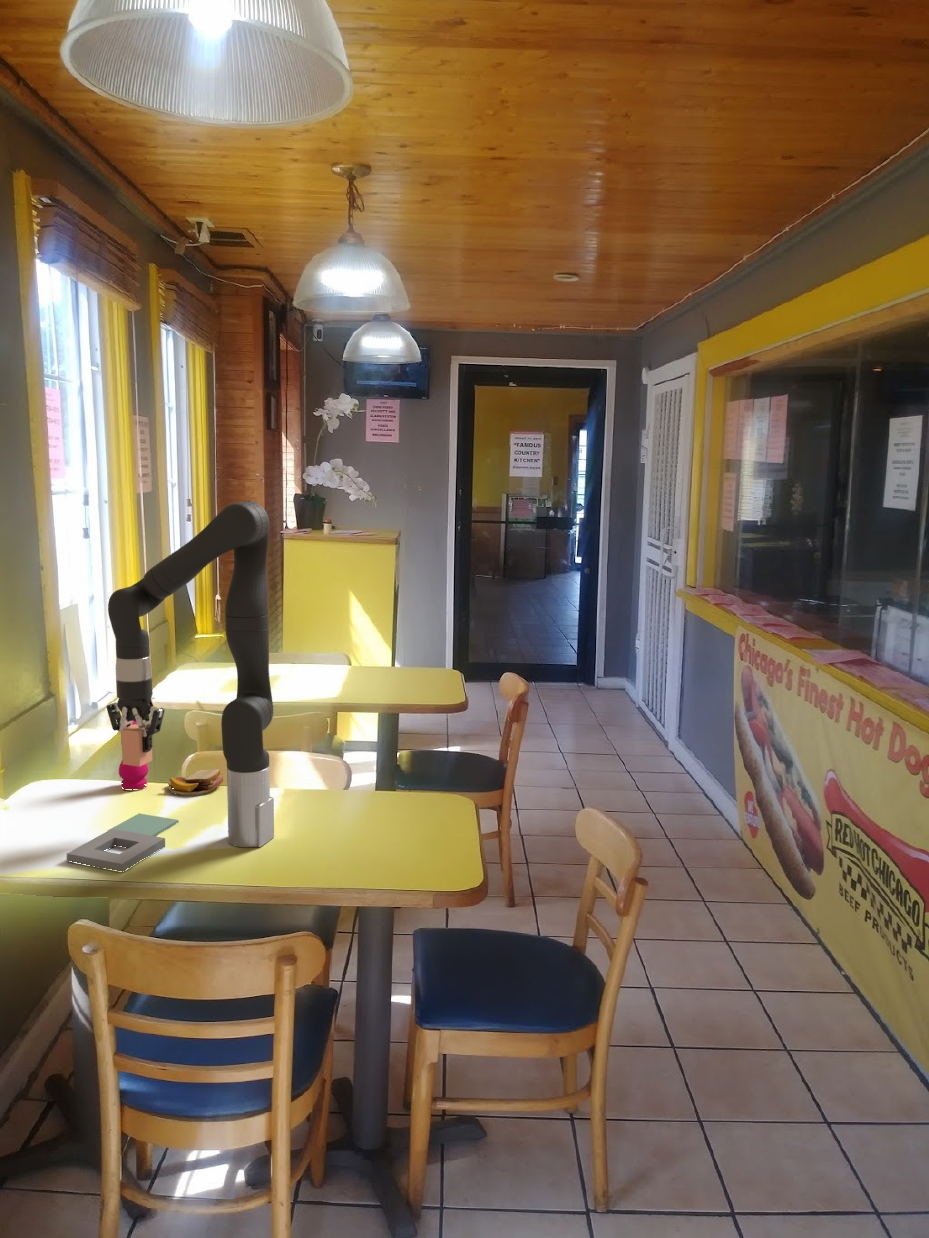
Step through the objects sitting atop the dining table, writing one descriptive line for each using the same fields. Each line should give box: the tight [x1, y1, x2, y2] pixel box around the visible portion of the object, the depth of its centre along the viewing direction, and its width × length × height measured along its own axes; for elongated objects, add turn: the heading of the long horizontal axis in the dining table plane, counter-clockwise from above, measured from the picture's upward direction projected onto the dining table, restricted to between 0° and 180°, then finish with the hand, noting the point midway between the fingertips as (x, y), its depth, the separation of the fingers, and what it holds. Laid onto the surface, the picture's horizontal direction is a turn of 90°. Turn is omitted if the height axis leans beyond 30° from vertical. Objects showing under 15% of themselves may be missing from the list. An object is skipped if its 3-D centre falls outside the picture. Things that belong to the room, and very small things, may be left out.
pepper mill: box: [118, 721, 149, 790], centre depth 234 cm, size 7×7×20 cm
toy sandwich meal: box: [167, 768, 224, 797], centre depth 236 cm, size 12×14×5 cm
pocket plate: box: [66, 828, 166, 872], centre depth 196 cm, size 14×14×2 cm
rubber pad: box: [107, 812, 179, 837], centre depth 210 cm, size 11×11×1 cm
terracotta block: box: [120, 724, 153, 767], centre depth 205 cm, size 4×4×8 cm
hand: (137, 749), depth 205 cm, fingers closed on terracotta block, 4 cm apart
